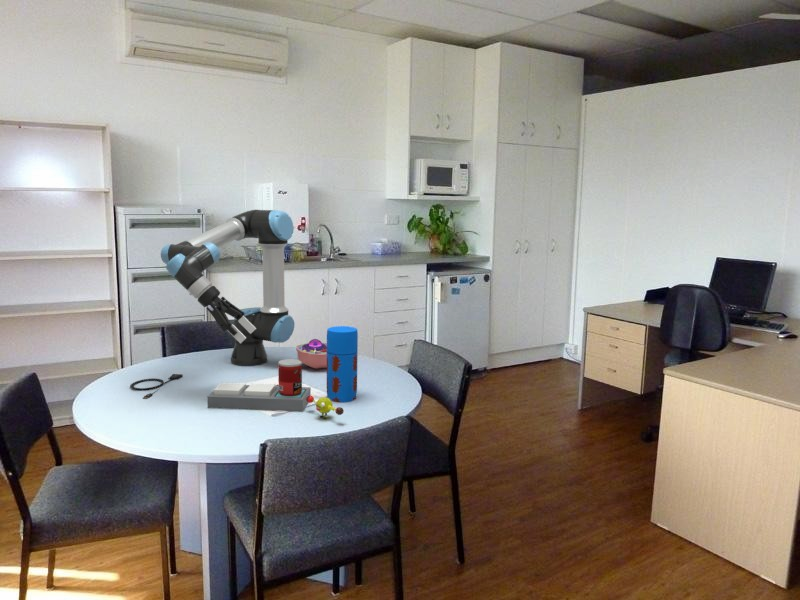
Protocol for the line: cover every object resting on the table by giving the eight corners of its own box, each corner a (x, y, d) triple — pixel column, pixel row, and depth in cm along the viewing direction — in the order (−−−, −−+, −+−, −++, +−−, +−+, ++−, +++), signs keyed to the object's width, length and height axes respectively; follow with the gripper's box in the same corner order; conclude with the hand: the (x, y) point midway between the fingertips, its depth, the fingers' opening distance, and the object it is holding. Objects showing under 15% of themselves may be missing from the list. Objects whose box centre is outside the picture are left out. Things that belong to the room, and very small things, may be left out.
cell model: (298, 374, 254) (298, 347, 252) (294, 361, 273) (294, 336, 271) (340, 372, 258) (340, 345, 256) (333, 360, 277) (333, 334, 275)
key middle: (251, 393, 223) (251, 383, 222) (275, 394, 222) (275, 384, 222) (244, 400, 214) (244, 390, 214) (269, 401, 214) (269, 391, 214)
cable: (111, 398, 222) (110, 394, 222) (150, 375, 250) (150, 372, 249) (147, 400, 221) (147, 396, 220) (183, 377, 248) (183, 374, 248)
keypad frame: (221, 395, 226) (220, 384, 226) (310, 398, 225) (310, 387, 224) (207, 407, 213) (207, 396, 212) (302, 411, 211) (302, 399, 211)
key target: (281, 398, 223) (281, 388, 222) (305, 399, 222) (305, 389, 222) (275, 406, 214) (275, 396, 214) (300, 407, 214) (300, 397, 213)
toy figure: (300, 412, 210) (300, 392, 209) (313, 408, 214) (313, 389, 213) (334, 427, 198) (334, 406, 197) (348, 423, 202) (348, 402, 200)
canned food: (297, 397, 213) (297, 365, 212) (275, 395, 215) (274, 364, 213) (305, 390, 221) (304, 359, 219) (283, 388, 222) (282, 358, 220)
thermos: (349, 404, 220) (349, 333, 216) (321, 400, 223) (321, 330, 219) (361, 395, 230) (362, 327, 226) (335, 391, 233) (335, 325, 229)
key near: (222, 392, 223) (222, 382, 223) (246, 392, 223) (245, 383, 222) (214, 399, 215) (213, 389, 214) (238, 400, 215) (238, 390, 214)
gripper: (208, 293, 231) (250, 334, 234) (184, 306, 207) (231, 352, 209) (222, 279, 230) (264, 320, 233) (200, 291, 206) (246, 337, 208)
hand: (248, 335), depth 221 cm, fingers open, 13 cm apart
